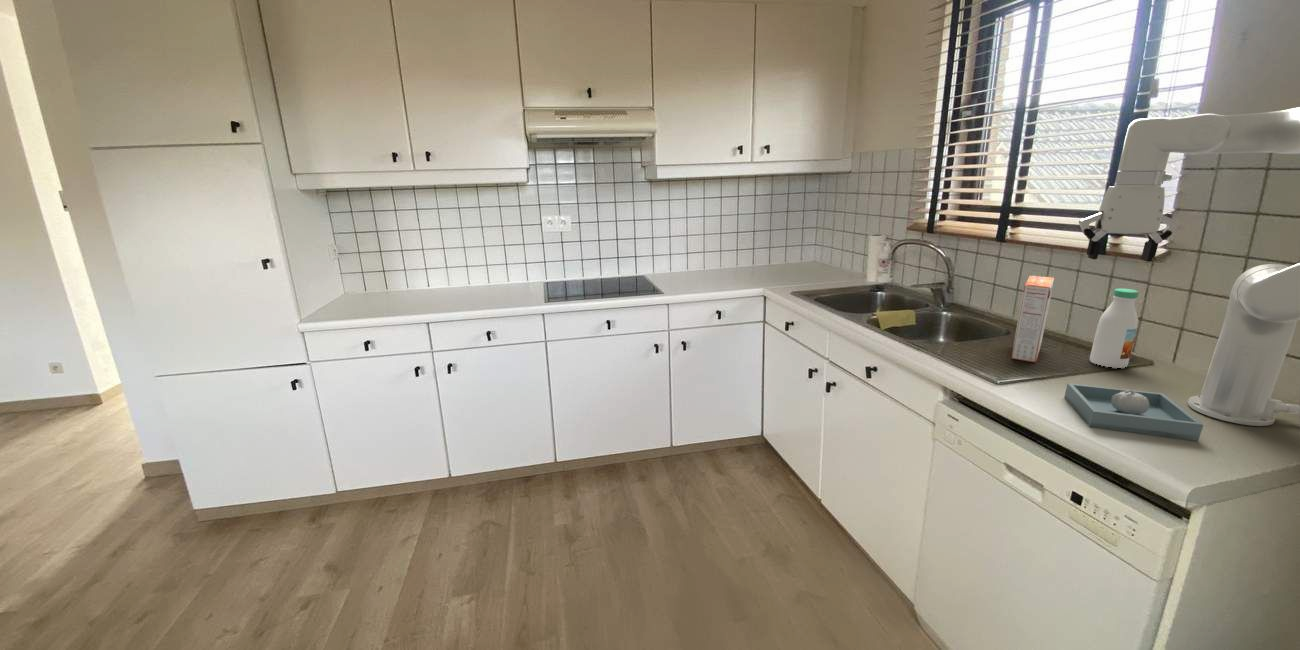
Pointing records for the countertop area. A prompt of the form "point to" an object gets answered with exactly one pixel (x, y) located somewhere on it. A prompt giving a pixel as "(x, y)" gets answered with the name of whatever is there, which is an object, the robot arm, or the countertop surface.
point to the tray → (1155, 421)
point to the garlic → (1130, 402)
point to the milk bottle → (1116, 331)
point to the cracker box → (1032, 318)
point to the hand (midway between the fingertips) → (1118, 259)
